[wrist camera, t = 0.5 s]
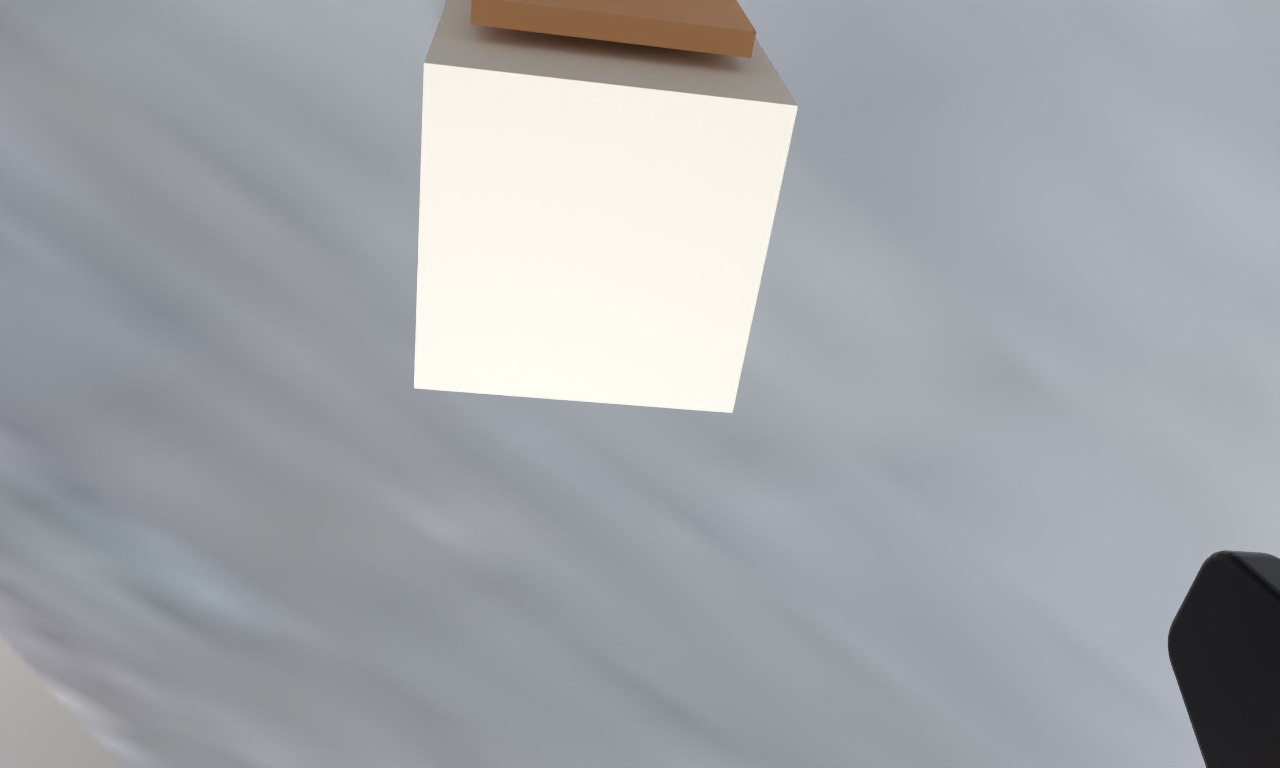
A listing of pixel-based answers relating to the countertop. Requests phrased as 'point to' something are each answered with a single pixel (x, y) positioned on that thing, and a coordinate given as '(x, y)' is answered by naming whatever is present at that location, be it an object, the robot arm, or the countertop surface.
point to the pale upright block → (595, 199)
